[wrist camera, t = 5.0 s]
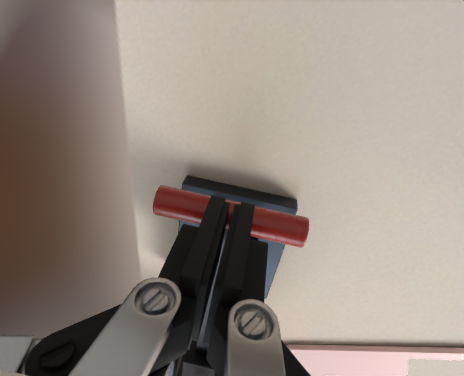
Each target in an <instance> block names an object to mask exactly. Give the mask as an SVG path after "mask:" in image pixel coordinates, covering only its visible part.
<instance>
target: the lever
mask: <svg viewBox="0 0 464 376" xmlns="http://www.w3.org/2000/svg"><path fill="white" fill-rule="evenodd" d="M210 197H211V196H208V195H203V194H199V193H194V192H190V191H185V190H181V189H176V188H172V187H167V186H163V185H162V186H160V187H159V188H158V190H157V192H156V195H155V198H154V203H153V212H154V214H155V215H160V216H164V217H168V218H173V219H177V220H182V221H186V222H190V223H195V224H199V225H200V223H201V220H202V218H203V215H204V213H205V210H206V207H207V205H208V202H209V200H210ZM225 202H229V203H230V207H229V213H228V218H227V223H226V228H225V233H224V238H223V243H222V248H221V253H220V258H219V262H218V266H217V270H216V274H215V278H214V281H213V285H212V289H211V293H210V297H209V301H208V304H207V308H206V312H205V316H204V320H203V324H202V328H201V331H200V335H199V339H198V341H194V340H192V341H191V345H190V348H189V350H187V352H186V354H185V356H184V359H183V366H182V375H181V376H214V371H213V369H212V367H211V366H210V364H209V362H208V361H207V359H206V357H207V352H208V347H209V344H206V343H203V339H204V334H205V329H206V324H207V319H208V314H209V309H210V304H211V298H212V293H213V288H214V284H215V279H216V275H217V271H218V267H219V263H220V259H221V256H222V252H223V248H224V244H225V240H226V236H227V232H228V228H229V224H230V220H231V216H232V212H233V209H234V205H235V204H238V205H240V204H241V203H239V202H235V201H230V200H225ZM308 231H309V219H308V218H307V217H302V216H298V215H293V214H289V213H284V212H280V211H275V210H271V209H266V208H262V207H257V206H255V209H254V215H253V222H252V228H251V235H250V236H252V237H256V238H261V239H265V240H270V241H274V242H278V243H283V244H287V245H292V246H296V247H303V246H304V244H305V242H306V240H307V236H308Z"/></svg>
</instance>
